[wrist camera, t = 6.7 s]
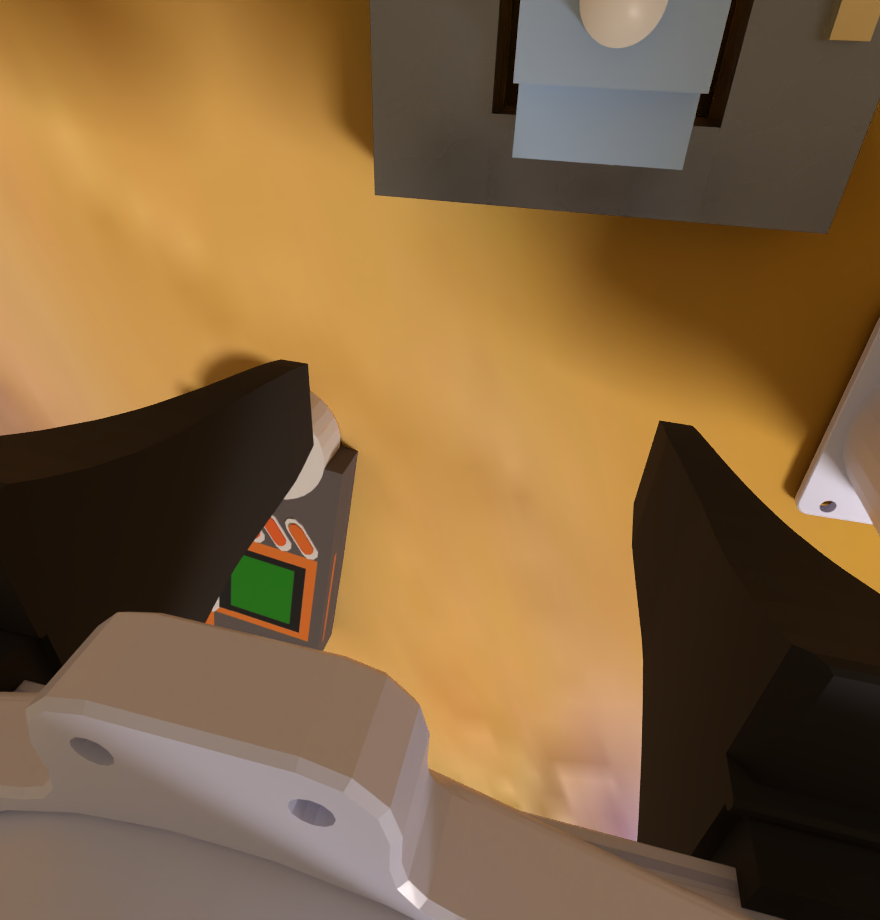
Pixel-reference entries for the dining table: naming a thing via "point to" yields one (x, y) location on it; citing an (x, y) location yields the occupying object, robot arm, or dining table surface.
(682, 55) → the block
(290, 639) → the electronic device
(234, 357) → the dining table surface
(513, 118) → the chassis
